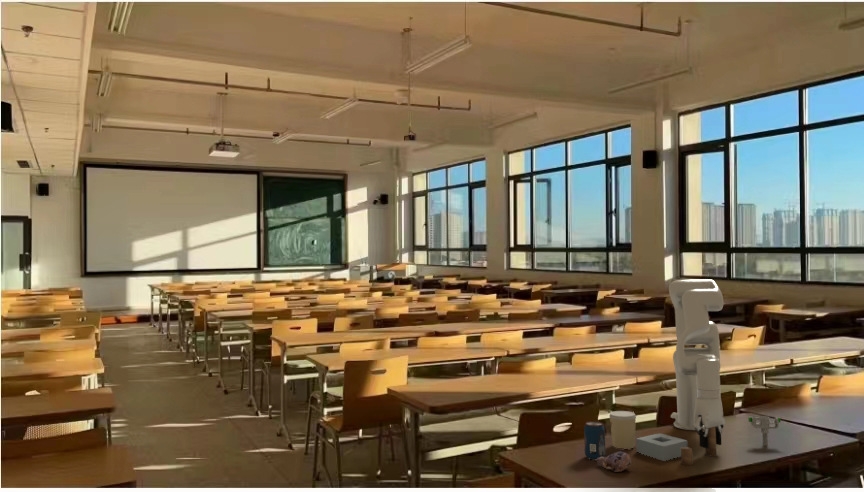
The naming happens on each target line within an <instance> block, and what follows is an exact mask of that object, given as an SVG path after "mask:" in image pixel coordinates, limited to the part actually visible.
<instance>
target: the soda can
mask: <svg viewBox="0 0 864 492" xmlns="http://www.w3.org/2000/svg"><path fill="white" fill-rule="evenodd" d="M603 424H604V423H603V422H601V421H595V420H594V421H593V420H592V421H586V422H585V425H584V427H583V428H584V429H583V432H584V434H583V435H584V455H585V456H586V458H587V457H588V458H590V459H597V458H600V457H606V433H605V432H606V431H605V427H604V425H603ZM588 458H587V459H588ZM590 459H589V460H590Z"/></svg>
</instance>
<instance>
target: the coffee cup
mask: <svg viewBox="0 0 864 492" xmlns="http://www.w3.org/2000/svg"><path fill="white" fill-rule="evenodd" d="M636 418H637V415H636V414H635V412H634V411H633V412H632V411H628V410H616V411H611V412H610V413H609V422H610V423H609V424H610V433H611V434H610V435H611V441H612V447H613V446H614V447H617V448H624V449H626V448H633V447H634V448H635V446H636V444H635V443H636V423H637V422H636ZM614 447H613V448H614ZM617 448H616V449H617ZM634 448H633V449H634ZM624 449H623V450H624Z"/></svg>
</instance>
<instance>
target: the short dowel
mask: <svg viewBox="0 0 864 492" xmlns="http://www.w3.org/2000/svg"><path fill="white" fill-rule="evenodd" d="M680 458H681V459H680V461H681V465H683V464H684V465H683V466H692V464H694V463H693V462H694V461H693V458H694V457H693V448H692V447H689V446H688V447H682V448H681V457H680Z"/></svg>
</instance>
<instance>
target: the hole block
mask: <svg viewBox="0 0 864 492" xmlns="http://www.w3.org/2000/svg"><path fill="white" fill-rule="evenodd" d="M635 443H636V444H635V446H636V453H637V452H639V453H641V454H640V455H643V454H644V455H643V456H646V455H647V456H646V457H649V456H650V458H652V457H653V458H652V459H655V458H656V459H655V460H659V461H663V462H666V460H667V461H671V460H674V459H673V458H675V459H677V457H678V458H681V448H682V447H689V446H688V440H686V439H683V438H680V437H675V436H672V435H668V434H665V433H660V432H658V433H654V434H650V435H645V436H641V437H637V438H636V437H635ZM639 453H638V454H639ZM670 459H671V460H670Z"/></svg>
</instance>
